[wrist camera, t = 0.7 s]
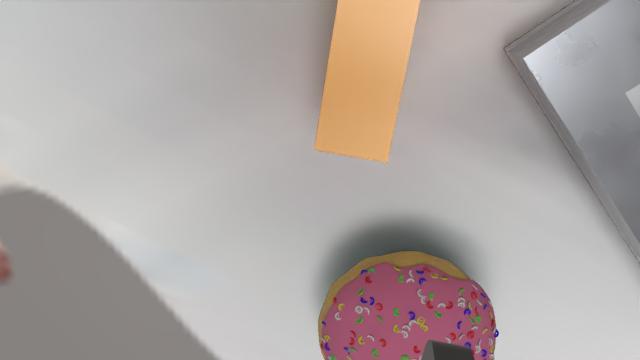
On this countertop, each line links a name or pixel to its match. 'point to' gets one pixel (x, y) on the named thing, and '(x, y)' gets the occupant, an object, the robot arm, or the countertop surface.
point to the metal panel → (592, 97)
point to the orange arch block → (365, 77)
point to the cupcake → (404, 310)
